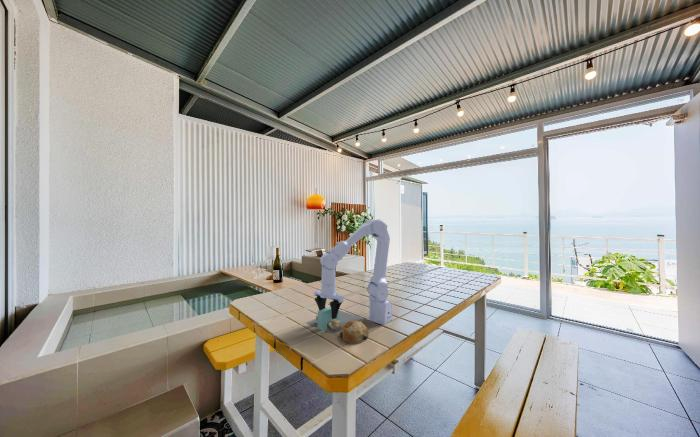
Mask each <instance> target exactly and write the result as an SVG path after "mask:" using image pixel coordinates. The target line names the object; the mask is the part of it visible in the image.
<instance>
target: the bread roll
mask: <svg viewBox="0 0 700 437" xmlns="http://www.w3.org/2000/svg"><path fill="white" fill-rule="evenodd" d="M339 334H340V336H341V337H340V338H341V339H342V340H343V341H345V342H347V343H349V344H361V343H364V342H365V341H366V340H367V339H368V338H369V334H370V332H369V329H368V327H367V326H366V325H365V324H364V323H363V322H362V321H350V322H347V323H346V324H345V325H344V326H343V327H342V329H341V330H340V332H339Z"/></svg>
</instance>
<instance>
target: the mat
mask: <svg viewBox="0 0 700 437" xmlns="http://www.w3.org/2000/svg"><path fill="white" fill-rule="evenodd" d="M361 320H364V317H363V316H360V315H356V314H354V313H353V314H352V313H351V312H350V313H349V312H345V311H342V310H339V321H341V329H342V327H343V326H344V325H345V324H346V323H347V322H350V321H359V322H361ZM306 324H307V325H309V326H312V327H314V328H317V329H318V323H316V318H315V319H312V320H311V321H308V322H305V325H306ZM341 329H340V330H341ZM340 330H335V329H332V328H329V327H327V328H326V329H324V330H323V331H325V332H328V333H331V334H334V335H335V334H338V333H340Z"/></svg>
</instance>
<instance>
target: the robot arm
mask: <svg viewBox="0 0 700 437" xmlns="http://www.w3.org/2000/svg"><path fill="white" fill-rule="evenodd" d="M364 236H373V238H374V239H375V240H376V249H375V258H374V264H373V272H372V277H370V280H369V283H368V285H367V287H366V291H367V294H369V302H368V304H369V305H368V306H369V308H368V309H369V310H368V311H369V312H368V313H369V314H368V316H367V317H366V318H365V317H364V319H365V320H367V321H370V322H372V323H376V324H380V325H383V326H384V325H386V324H387V323H389V322H391V321H392V320H393V317H392V316H393V315H392V314H393V307H392V306H393V304H392V302H391V301H389V300H387V299H388V297H389V295H390V294H389V290H388V288H389V287H388V286H389V283H388V282H387V279H386V273H387V266H388V258H389V257H388V256H389V248H390V240H391V239H390V234H389V231H388V224H386V222H384V220H382V219H380V218H379V219H368V220H366V221H365V222H364V223H362V224H361V225H360V226H359V227H358V228H356V230H355V231H354V232H353V233H352V234H351V235H349V237H348V238H347V239H346V240H340V241H337V242H336V243H335V244H336V245H335V246H333V247H332V248H331V249H328V250H327V253H324V254H322V255H321V257H320V259H319V263H320V265H321V290H318V289H317V290H314V291H313V293H314V294H313V295H314V297H315V298H314V302H315V303H316V305H317V307H318V311H320V310H322V309H325V308H326V304H327V300H331V301H330V302H329V307H330V306H331V311H332V319H335V318H337V314H338V310H339V311H340V307H341V306H342V303H344V295H343V296H342V295H340V294H338V293H336V267H337V266H338V264H339V261H341V260H342V259H343V258H345V256H346V255H347V254H348V253H350V251H351V247H353V245H355V244H356V243H357V242H358V241H360V240H361V239H362V238H363V237H364Z"/></svg>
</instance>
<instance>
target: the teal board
mask: <svg viewBox="0 0 700 437" xmlns="http://www.w3.org/2000/svg"><path fill="white" fill-rule="evenodd" d="M339 311H340V309H339V310H338V314H337V318H335V319H336V320H339ZM317 315H318V328H317V330H319V331H325V330H324V329H326V328H327V323H329V322H331V320H333V319H332V311H331V306H330V305H329V306H328V307H325V309H322V310H320V311H319V310H318V311H317Z"/></svg>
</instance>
